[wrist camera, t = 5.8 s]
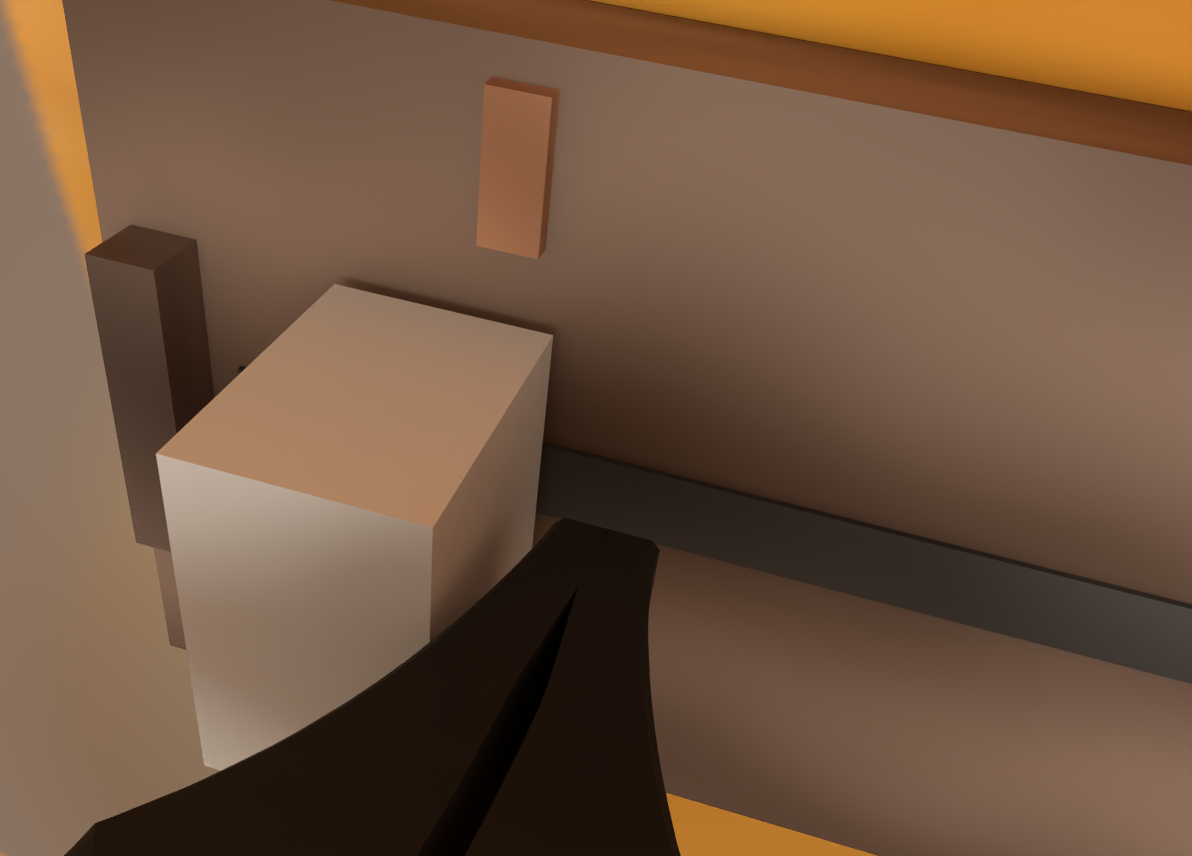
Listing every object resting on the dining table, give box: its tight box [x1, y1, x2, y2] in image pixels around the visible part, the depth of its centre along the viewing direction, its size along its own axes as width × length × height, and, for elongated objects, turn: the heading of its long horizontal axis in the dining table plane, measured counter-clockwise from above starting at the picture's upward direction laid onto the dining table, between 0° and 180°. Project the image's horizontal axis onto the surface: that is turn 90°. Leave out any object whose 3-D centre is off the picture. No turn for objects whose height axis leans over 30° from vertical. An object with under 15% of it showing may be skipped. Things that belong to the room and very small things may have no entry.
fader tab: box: [156, 284, 553, 771], centre depth 14 cm, size 5×3×4 cm, turn 174°
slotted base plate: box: [62, 0, 1192, 856], centre depth 15 cm, size 12×24×3 cm, turn 84°
